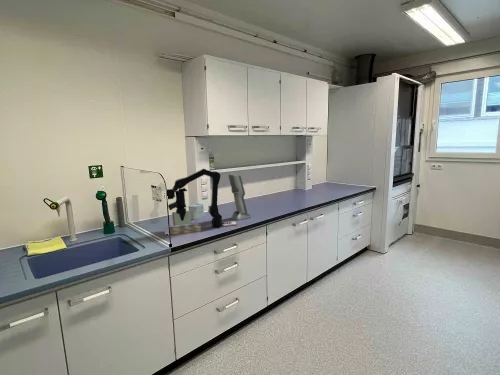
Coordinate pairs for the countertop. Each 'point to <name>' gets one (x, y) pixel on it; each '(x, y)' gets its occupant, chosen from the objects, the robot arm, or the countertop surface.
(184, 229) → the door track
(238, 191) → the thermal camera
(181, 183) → the robot arm
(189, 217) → the door panel
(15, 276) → the countertop surface
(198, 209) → the light bulb box
